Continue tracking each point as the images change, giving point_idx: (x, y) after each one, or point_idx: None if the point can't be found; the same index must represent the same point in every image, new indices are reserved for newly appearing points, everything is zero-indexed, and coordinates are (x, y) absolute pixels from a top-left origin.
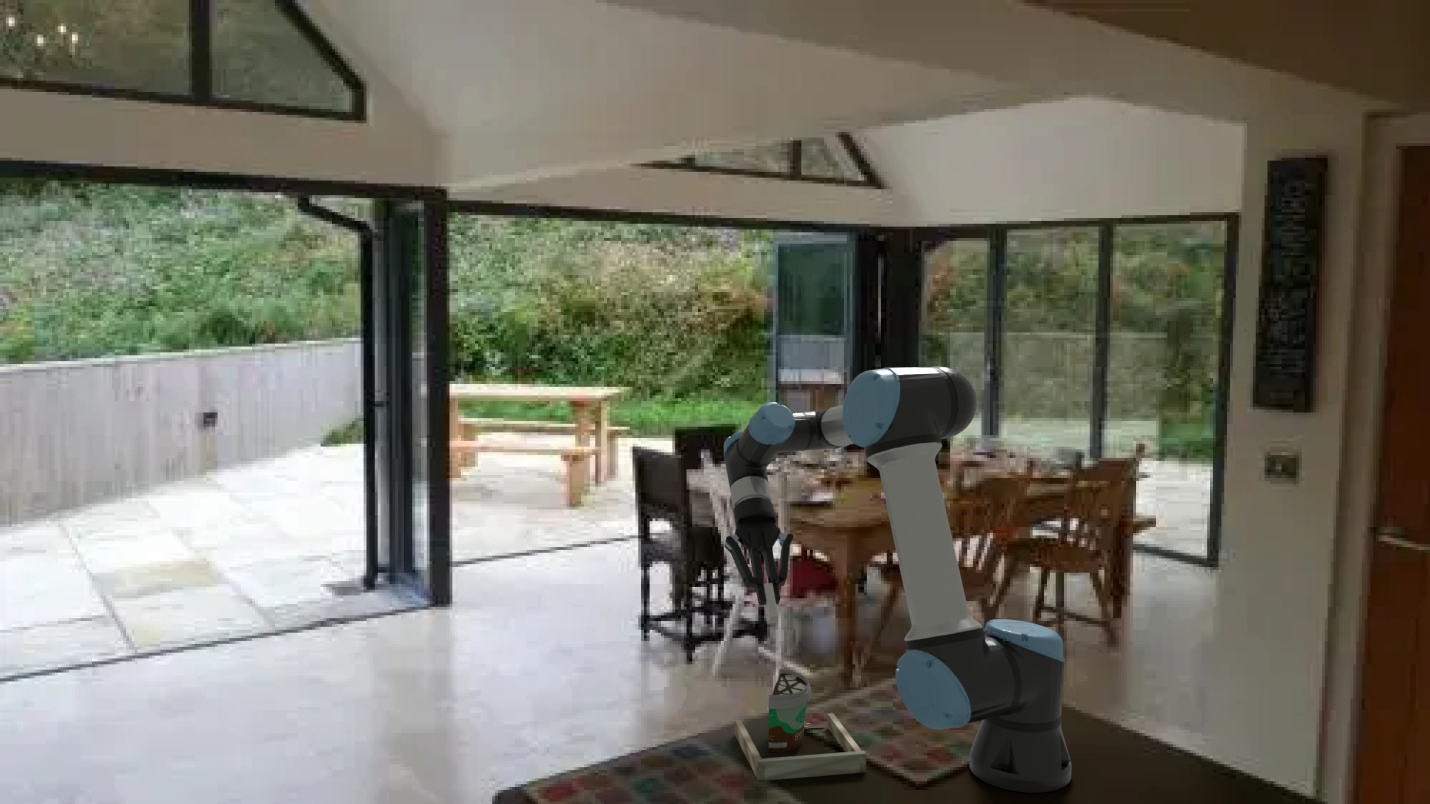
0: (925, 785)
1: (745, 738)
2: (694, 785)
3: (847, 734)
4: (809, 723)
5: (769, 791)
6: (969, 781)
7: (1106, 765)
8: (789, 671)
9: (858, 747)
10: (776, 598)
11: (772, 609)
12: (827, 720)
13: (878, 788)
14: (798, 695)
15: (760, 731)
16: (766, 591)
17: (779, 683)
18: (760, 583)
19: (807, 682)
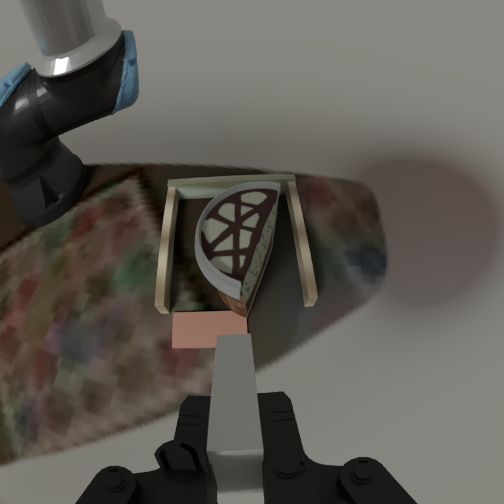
0: (132, 172)
1: (305, 236)
2: (355, 191)
3: (163, 234)
4: (192, 326)
5: (282, 172)
6: (95, 178)
7: (2, 202)
8: (220, 272)
9: (166, 201)
10: (201, 404)
11: (235, 349)
12: (166, 309)
13: (175, 169)
14: (229, 191)
15: (273, 315)
16: (253, 410)
17: (252, 234)
18: (288, 452)
19: (199, 225)
